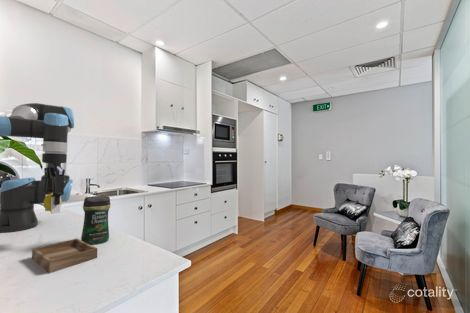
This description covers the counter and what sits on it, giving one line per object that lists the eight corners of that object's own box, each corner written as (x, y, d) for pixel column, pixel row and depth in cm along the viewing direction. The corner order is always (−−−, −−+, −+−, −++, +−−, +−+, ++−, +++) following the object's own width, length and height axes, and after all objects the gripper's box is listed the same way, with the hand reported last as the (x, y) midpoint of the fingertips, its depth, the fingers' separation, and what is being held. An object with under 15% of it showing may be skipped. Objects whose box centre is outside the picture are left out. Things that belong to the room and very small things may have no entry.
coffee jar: (82, 247, 85) (84, 198, 85) (79, 241, 91) (81, 195, 91) (111, 242, 91) (112, 196, 92) (106, 236, 97) (108, 193, 97)
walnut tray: (31, 258, 74) (32, 249, 74) (76, 246, 85) (76, 238, 85) (49, 273, 65) (50, 262, 66) (97, 257, 76) (97, 248, 76)
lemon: (46, 215, 84) (47, 193, 84) (40, 212, 87) (41, 192, 87) (63, 212, 89) (64, 192, 89) (57, 210, 92) (58, 190, 92)
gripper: (34, 152, 90) (32, 209, 90) (52, 152, 80) (49, 217, 80) (57, 153, 97) (54, 206, 96) (76, 153, 86) (73, 213, 86)
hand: (52, 211), depth 88 cm, fingers closed on lemon, 5 cm apart
